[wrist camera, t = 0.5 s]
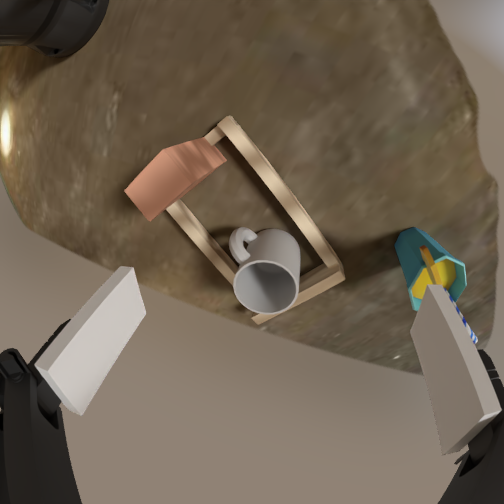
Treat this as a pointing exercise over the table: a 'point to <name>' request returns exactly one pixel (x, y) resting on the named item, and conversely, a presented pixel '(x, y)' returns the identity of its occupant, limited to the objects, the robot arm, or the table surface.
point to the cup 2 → (430, 268)
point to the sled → (168, 197)
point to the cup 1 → (266, 269)
